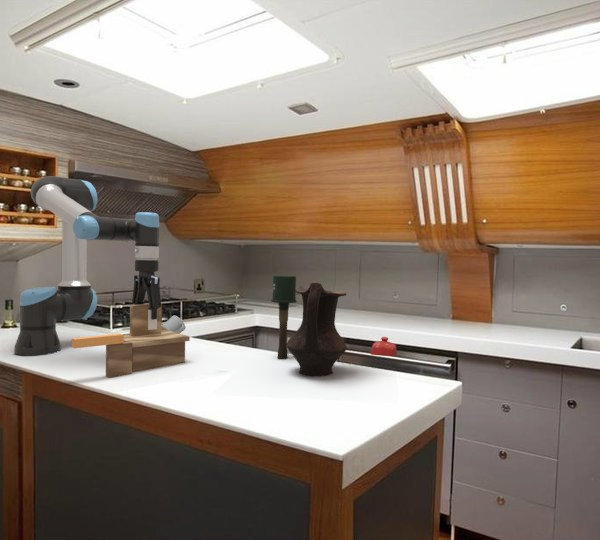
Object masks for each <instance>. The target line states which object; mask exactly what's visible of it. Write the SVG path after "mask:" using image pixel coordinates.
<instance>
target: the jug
mask: <svg viewBox="0 0 600 540" xmlns="http://www.w3.org/2000/svg"><path fill="white" fill-rule="evenodd" d="M295 292H296V294H299V295H301V298H302V320H301V324H300V325H299V328H297V330H296V331H295V332H294V333H293V334H292V336H290V338H289V340H287V351H288V352H290V353H291V355H292V356H293V358H294V359H295V360H296V362H297V363H298V366H300V368H299V369H300V370H299V371H298V373H299V374H300V375H302V376H304V377H305V376H306V377H310V378H316V377H317V378H319V377H320V378H321V377H329V376H331V375H332V374H333V373H334V372H333V366H334V365H335V363H336V362H337V361H338V360H339V358H340V357H341V356H343V354H344V353H346V351H347V344H346V342H345V341H344V338H343V337H342V336H341V335H340V333H339V332H338V330H337V328H336V322H335V321H336V313H337V312H336V311H337V306H338V303H339V302H338V301H339V298H340V297H344V296H347V292H343V291H341V292H340V291H332V290H325V288H324V287H323V285H322V284H321V282H318V281H312V282H311V283H310V284H309V287H308V288H296V290H295Z"/></svg>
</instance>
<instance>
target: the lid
mask: <svg viewBox="0 0 600 540" xmlns="http://www.w3.org/2000/svg"><path fill="white" fill-rule="evenodd" d="M149 307H150V306H149V303H143V304H140V305H134V304H130V305H129V333H122V334H123V335H124V342H132V348H133V347H141V346H150V345H158V344H167V343H176V342H184V341H185V342H190V336H189V335H187V334H183V333H180V334H179V333H175V332H172V331H168V330H162V325H163V324H162V323H163V322H162V318H163V313H162V312H163V310H162V309H163V304H162V303H161V308H158V309H157V329H152V330H148V308H149Z"/></svg>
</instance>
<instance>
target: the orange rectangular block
mask: <svg viewBox="0 0 600 540" xmlns="http://www.w3.org/2000/svg"><path fill="white" fill-rule="evenodd" d="M123 334H124V333H112V334H104V335H103V334H102V335H90V336H82V337H80V336H79V337H72V338H71V348H73V349H82V348H92V347H100V346H106V345H111V344H120V343H124V335H123Z"/></svg>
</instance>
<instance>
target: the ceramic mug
mask: <svg viewBox="0 0 600 540" xmlns="http://www.w3.org/2000/svg"><path fill="white" fill-rule="evenodd" d="M186 328H187V327H186V324H185V322H184V321H183V320H182V319H181V318H180V317H179V316H177V315H172V316H170V317H169V319H167V320H166V321H165V322H164V323H163V324H162V330H168V331H172V332H175V333H179V334H182V332H184V331H185V330H186Z"/></svg>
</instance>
